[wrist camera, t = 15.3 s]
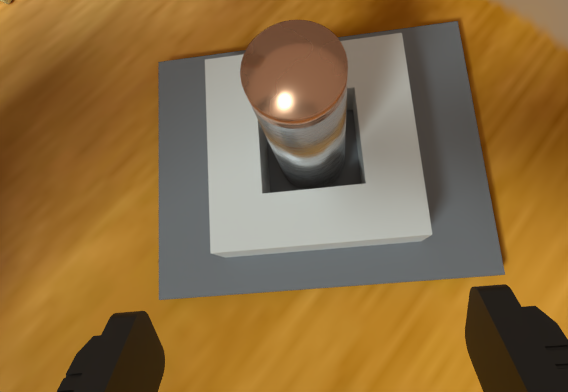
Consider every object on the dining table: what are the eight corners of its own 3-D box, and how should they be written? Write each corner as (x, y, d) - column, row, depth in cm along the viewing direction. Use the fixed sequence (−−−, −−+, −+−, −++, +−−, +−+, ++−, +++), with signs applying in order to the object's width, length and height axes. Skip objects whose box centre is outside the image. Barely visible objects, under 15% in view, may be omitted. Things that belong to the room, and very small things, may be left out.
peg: (282, 192, 26) (242, 124, 15) (278, 132, 27) (237, 27, 16) (347, 186, 26) (353, 111, 15) (341, 125, 26) (342, 12, 16)
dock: (165, 299, 26) (135, 301, 23) (164, 69, 30) (138, 36, 26) (498, 275, 24) (528, 272, 20) (453, 30, 28) (471, -12, 24)
